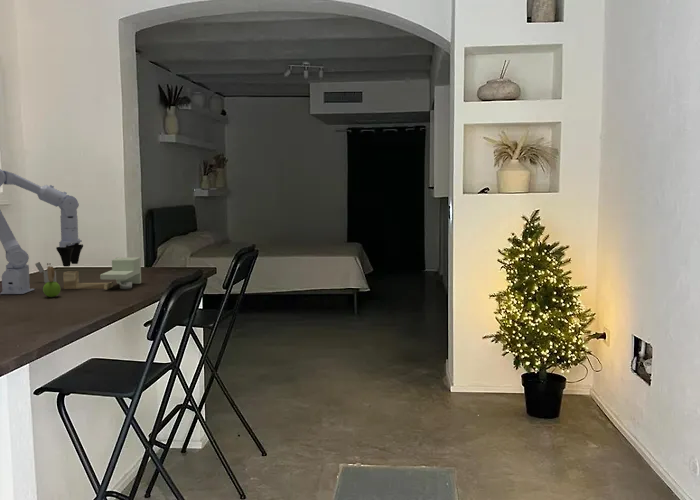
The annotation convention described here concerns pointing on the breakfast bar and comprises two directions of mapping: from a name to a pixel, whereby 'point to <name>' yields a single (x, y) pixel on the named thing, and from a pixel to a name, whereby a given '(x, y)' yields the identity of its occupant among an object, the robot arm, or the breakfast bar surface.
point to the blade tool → (73, 283)
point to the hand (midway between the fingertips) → (70, 265)
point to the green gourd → (51, 284)
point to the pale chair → (124, 270)
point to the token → (125, 284)
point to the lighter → (44, 272)
